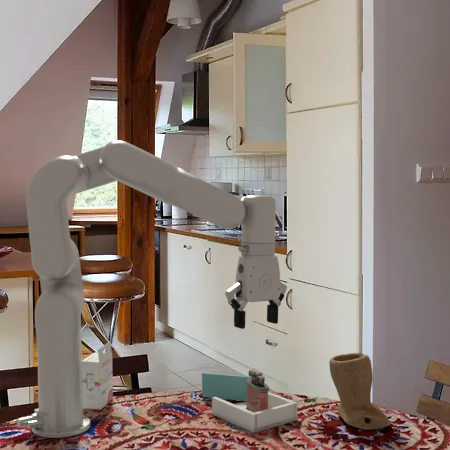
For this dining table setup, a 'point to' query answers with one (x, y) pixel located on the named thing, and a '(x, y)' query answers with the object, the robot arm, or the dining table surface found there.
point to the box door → (224, 386)
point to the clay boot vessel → (356, 391)
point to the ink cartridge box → (97, 378)
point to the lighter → (256, 392)
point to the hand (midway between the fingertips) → (256, 325)
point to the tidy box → (256, 413)
